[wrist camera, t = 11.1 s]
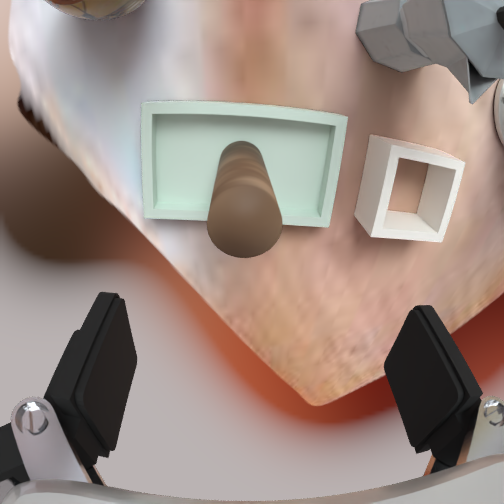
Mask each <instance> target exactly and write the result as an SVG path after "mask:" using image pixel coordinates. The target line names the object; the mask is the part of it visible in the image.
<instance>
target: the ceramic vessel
mask: <svg viewBox="0 0 504 504" xmlns="http://www.w3.org/2000/svg"><path fill="white" fill-rule="evenodd" d="M45 1H46V2H47V3H48V4H50V5H51V6H53V7H54V8H56V9H58V10H59V11H61V12H63V13H66V14H68V15H71V16H74V17H78V18H82V19H88V20H109V19H115V18H119V17H122V16H124V15H127V14H129V13H131V12H133V11H134V10H136V9H137V8H139V7H140V6H141V5H142V4H143V3H144V2H145V1H146V0H45Z"/></svg>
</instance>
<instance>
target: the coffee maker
mask: <svg viewBox="0 0 504 504" xmlns="http://www.w3.org/2000/svg"><path fill="white" fill-rule="evenodd" d="M356 34H357V36H358V37H359V39H360V40H361V42H362V44H363V45H364V47H365V48H366V50H367V52H368V53H369V55H370V57H371V59H372V60H373V61H374V62H377V63H379V64H382V65H385V66H387V67H390V68H392V69H395V70H397V71H399V72H405V71H409V70H412V69H416V68H420V67H424V66H428V65H432V64H439V65H442V66H444V67H447V68H448V69H449V70H450V71H451V73H452V74H453V75H454V76H455V77H456V78H457V79H458V81H459V82H460V83H461V84H462V85H463V87H464V88H465V89H466V90H467V91H468V93H469V102H470V103H471V104H473V103H474V102H475V101H476V100H477V99H478V98H479V97H480V96H481V95H482V94H483V93H484V92H485V91H486V90H487V89H488V88H489V87H490V86H491V85H492V84H493V83H494V82H495V81H496V80H497V79H504V0H369V1H367V2H364V3H362V4H361V7H360V12H359V17H358V22H357V27H356Z"/></svg>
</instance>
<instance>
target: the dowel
mask: <svg viewBox="0 0 504 504" xmlns="http://www.w3.org/2000/svg"><path fill="white" fill-rule="evenodd" d="M282 224H283V222H282V215H281V212H280V209H279V206H278V203H277V199H276V196H275V193H274V190H273V187H272V184H271V181H270V178H269V175H268V172H267V169H266V166H265V163H264V160H263V157H262V154H261V152H260V150H259V149H258V148H257V147H256V146H255V145H254V144H252V143H250V142H247V141H236V142H233V143H231V144H229V145H228V146H226V147H225V149H224V150H223V151H222V153H221V156H220V160H219V165H218V169H217V174H216V179H215V183H214V188H213V193H212V198H211V203H210V208H209V213H208V218H207V230H208V234H209V237H210V238H211V240H212V242H213V243H214V245H215V246H216V247H217V248H218V249H220V250H221V251H222V252H224V253H226V254H228V255H231V256H234V257H239V258H249V257H255V256H258V255H261V254H263V253H265V252H266V251H268V250H269V249H270V248H271V247H273V245H274V244H275V243H276V242H277V240H278V239H279V237H280V234H281V231H282Z"/></svg>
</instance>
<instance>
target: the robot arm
mask: <svg viewBox="0 0 504 504" xmlns="http://www.w3.org/2000/svg"><path fill="white" fill-rule="evenodd" d="M494 116H495V123H496V129H497V132H498V136H499V138H500V140H501V142H502V144H503V146H504V79H500V81H499V83H498V86H497V89H496V94H495V101H494ZM136 365H137V354H136V350H135V346H134V342H133V337H132V333H131V329H130V324H129V320H128V315H127V310H126V306H125V301H124V299H122V298H120V297H119V295H118V294H117V293H107V292H100V293H99V294H98V296H97V298H96V300H95V302H94V304H93V305H92V307H91V309H90V312H89V313H88V315H87V317H86V319H85V321H84V323H83V325H82V327H81V329H80V330H76V331H75V332H74V333H73V335H72V337H71V339H70V341H69V343H68V345H67V347H66V349H65V351H64V353H63V355H62V358H61V359H60V362H59V364H58V366H57V368H56V370H55V372H54V375H53V377H52V379H51V382H50V384H49V386H48V388H47V391H46V393H45V395H44V398H40V397H29V398H25V399H23V400H22V401H20V402H19V403H18V404H17V405H16V406H15V407H14V409H13V411H12V414H11V422H10V423H8V424H6V425H4V426H2V427H0V504H504V402H503V400H501V399H499V398H498V397H495V396H488V397H485V398H484V399H483V400H482V401H481V399H480V396H481V395H482V394H483V393H482V391H481V389H480V387H479V385H478V383H477V381H476V379H475V377H474V376H473V374H472V372H471V370H470V368H469V366H468V365H467V363H466V361H465V359H464V358H463V356H462V354H461V352H460V351H459V349H458V347H457V346H456V344H455V342H454V341H453V339H452V337H451V335H450V334H449V332H448V331H447V329H446V327H445V326H444V324H443V322H442V321H441V319H440V318H439V316H438V315H437V313H436V311H435V310H434V308H433V307H432V306H430V305H417V306H415V307H414V308H413V310H411V311H410V312H409V313H408V316H407V318H406V320H405V322H404V324H403V326H402V328H401V330H400V333H399V335H398V337H397V339H396V341H395V343H394V345H393V347H392V349H391V351H390V352H389V354H388V356H387V358H386V360H385V363H384V370H385V373H386V376H387V379H388V381H389V384H390V387H391V389H392V392H393V395H394V398H395V400H396V403H397V406H398V409H399V412H400V415H401V418H402V420H403V423H404V426H405V429H406V432H407V436H408V439H409V442H410V444H411V446H413V447H415V451H416V453H421V452H424V451H428V450H430V449H431V452H432V456H431V458H430V461H429V463H428V466H427V468H426V471H425V473H424V475H423V476H422V477H419V478H416V479H412V480H408V481H405V482H401V483H397V484H392V485H388V486H383V487H379V488H374V489H369V490H364V491H358V492H352V493H347V494H340V495H333V496H325V497H316V498H307V499H295V500H278V501H218V500H201V499H189V498H179V497H171V496H162V495H155V494H148V493H141V492H135V491H129V490H124V489H119V488H114V487H108V486H107V485H106V484H105V482H104V480H103V479H102V477H101V475H100V474H99V472H98V470H97V468H96V467H95V464H96V463H97V458H98V456H103V457H107V458H108V457H109V452H110V450H111V451H113V450H115V448H116V444H117V440H118V435H119V431H120V427H121V423H122V419H123V415H124V411H125V406H126V403H127V399H128V394H129V391H130V387H131V384H132V380H133V376H134V373H135V369H136Z"/></svg>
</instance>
